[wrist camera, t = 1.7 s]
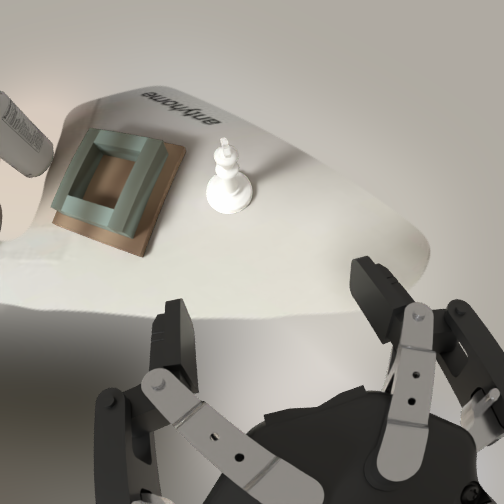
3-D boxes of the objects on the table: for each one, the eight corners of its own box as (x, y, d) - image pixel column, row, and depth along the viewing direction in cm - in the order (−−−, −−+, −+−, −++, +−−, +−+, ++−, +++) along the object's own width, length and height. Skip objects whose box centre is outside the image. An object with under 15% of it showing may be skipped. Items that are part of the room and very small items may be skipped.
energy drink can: (25, 156, 31) (-33, 105, 16) (55, 135, 31) (1, 74, 17) (27, 188, 30) (-41, 139, 15) (58, 166, 31) (-7, 105, 16)
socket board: (56, 225, 29) (38, 215, 25) (99, 134, 32) (87, 117, 28) (142, 257, 29) (129, 249, 25) (186, 151, 31) (180, 132, 27)
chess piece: (212, 219, 30) (200, 177, 20) (201, 178, 31) (187, 126, 21) (258, 206, 30) (266, 161, 20) (245, 167, 31) (247, 111, 21)
